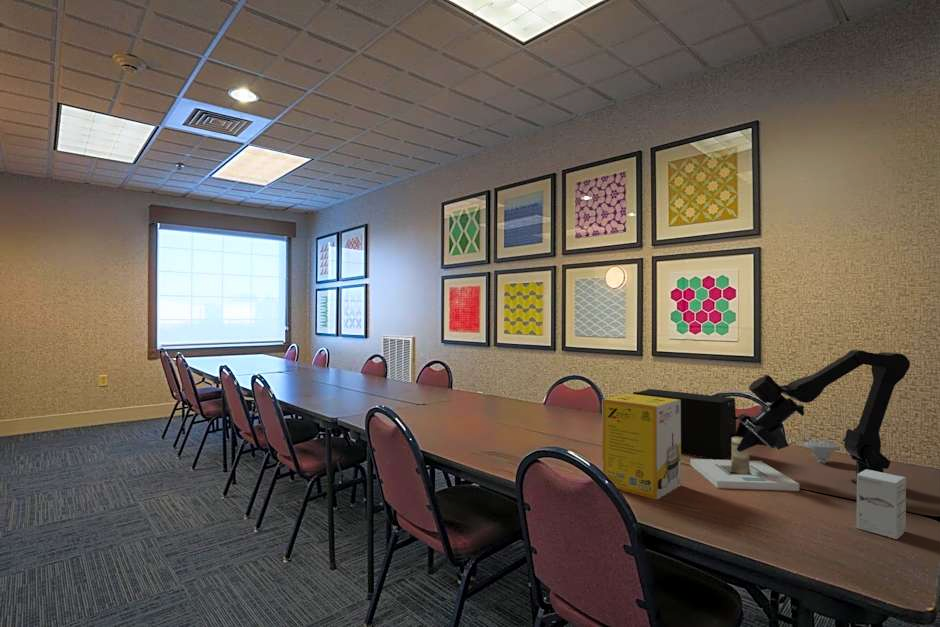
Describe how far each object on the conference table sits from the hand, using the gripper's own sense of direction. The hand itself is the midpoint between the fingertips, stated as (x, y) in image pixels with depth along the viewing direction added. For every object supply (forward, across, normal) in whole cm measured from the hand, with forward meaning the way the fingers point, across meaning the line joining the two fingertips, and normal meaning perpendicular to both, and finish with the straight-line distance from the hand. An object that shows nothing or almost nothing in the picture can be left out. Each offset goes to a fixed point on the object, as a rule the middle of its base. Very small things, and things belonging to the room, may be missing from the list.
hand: (735, 447), depth 147 cm
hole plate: (+5, -1, -7) cm, 9 cm away
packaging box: (+26, -16, +15) cm, 34 cm away
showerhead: (-16, +23, -30) cm, 41 cm away
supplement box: (-10, -34, -20) cm, 41 cm away
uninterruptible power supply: (+14, +30, -1) cm, 33 cm away
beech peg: (+4, 0, -6) cm, 7 cm away
